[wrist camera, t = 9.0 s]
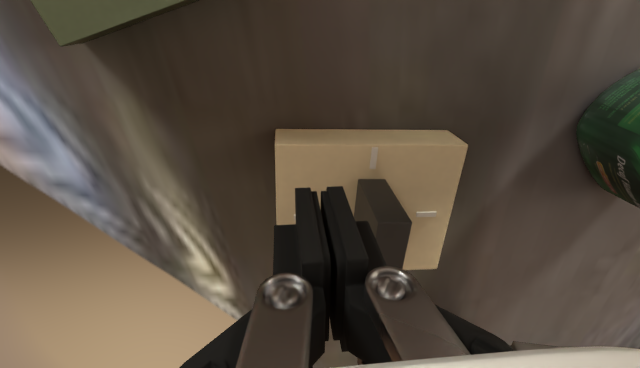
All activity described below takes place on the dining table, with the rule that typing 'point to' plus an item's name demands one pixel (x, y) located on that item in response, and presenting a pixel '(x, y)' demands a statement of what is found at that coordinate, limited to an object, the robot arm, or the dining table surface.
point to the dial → (384, 219)
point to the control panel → (376, 176)
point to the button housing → (97, 16)
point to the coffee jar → (614, 138)
